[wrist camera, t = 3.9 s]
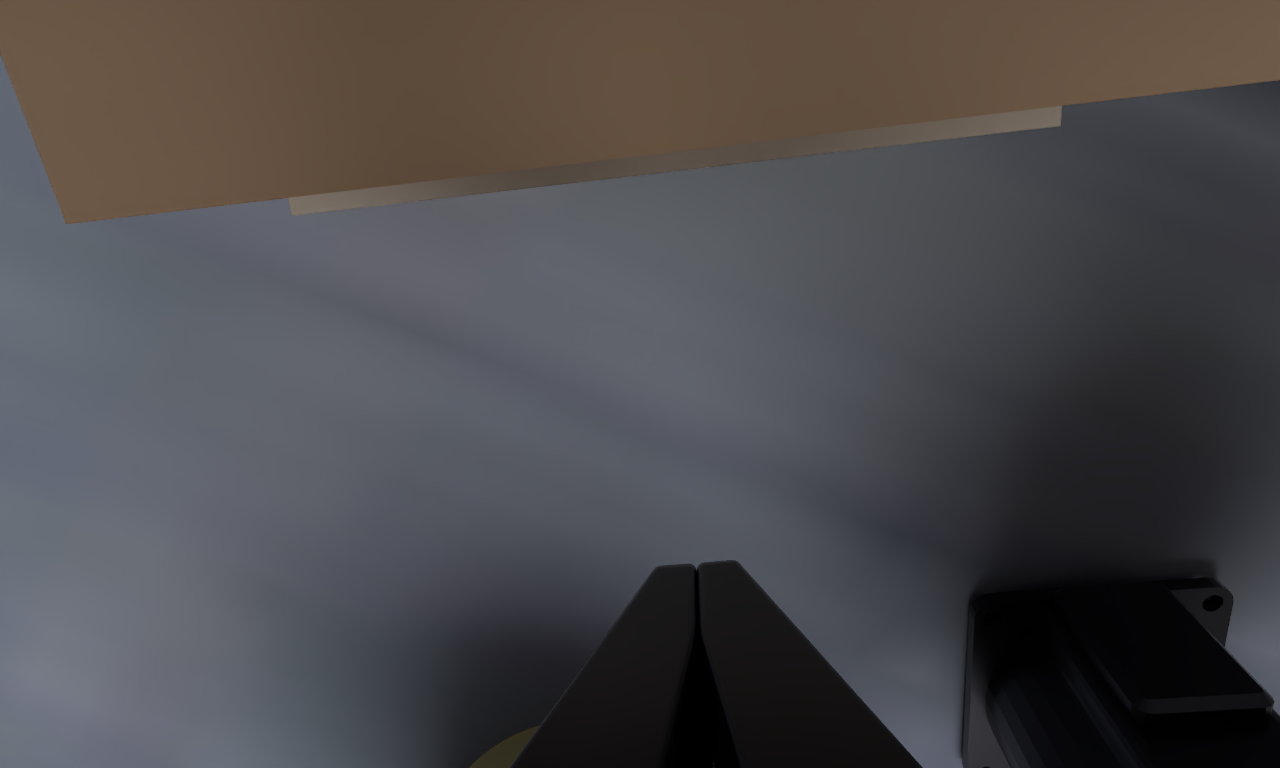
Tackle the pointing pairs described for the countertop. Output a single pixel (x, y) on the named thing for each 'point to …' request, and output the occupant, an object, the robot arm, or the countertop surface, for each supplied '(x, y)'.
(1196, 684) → the robot arm
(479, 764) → the piston
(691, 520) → the countertop surface
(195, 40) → the brown rectangular block
